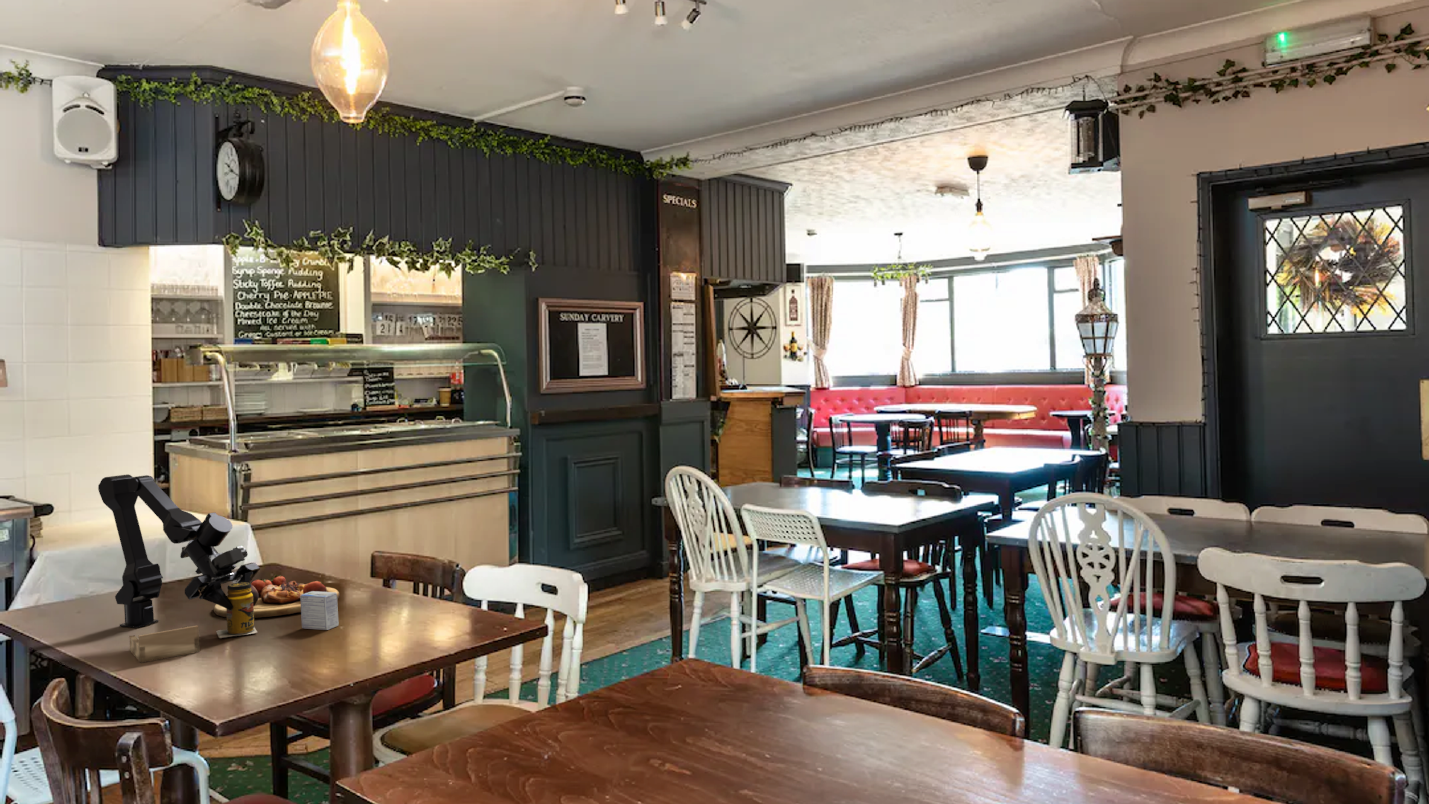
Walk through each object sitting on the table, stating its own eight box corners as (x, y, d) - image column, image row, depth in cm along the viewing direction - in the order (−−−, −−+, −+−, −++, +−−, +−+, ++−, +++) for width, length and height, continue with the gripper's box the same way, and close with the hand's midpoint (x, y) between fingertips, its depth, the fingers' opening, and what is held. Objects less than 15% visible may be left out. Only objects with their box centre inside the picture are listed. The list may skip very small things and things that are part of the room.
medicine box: (339, 626, 247) (337, 592, 247) (326, 630, 243) (325, 596, 242) (313, 624, 249) (312, 590, 249) (301, 628, 245) (299, 594, 245)
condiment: (257, 633, 241) (256, 584, 241) (219, 638, 236) (217, 589, 236) (253, 626, 247) (251, 579, 247) (216, 632, 243) (214, 584, 242)
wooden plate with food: (363, 599, 277) (362, 570, 277) (258, 624, 250) (257, 592, 250) (295, 590, 294) (294, 563, 294) (190, 613, 267) (188, 583, 267)
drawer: (130, 650, 229) (128, 625, 229) (187, 640, 237) (185, 616, 237) (140, 662, 219) (139, 636, 219) (199, 651, 227) (198, 626, 227)
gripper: (191, 544, 234) (228, 592, 231) (253, 531, 252) (288, 576, 248) (168, 574, 237) (204, 623, 234) (230, 559, 255) (265, 604, 251)
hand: (242, 605), depth 242 cm, fingers closed on condiment, 6 cm apart
